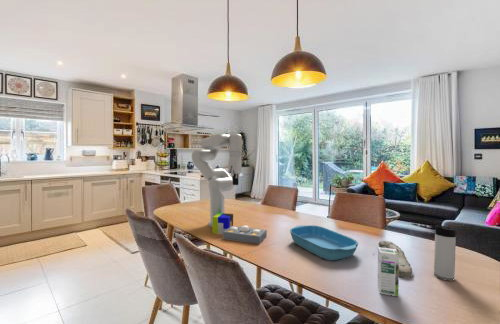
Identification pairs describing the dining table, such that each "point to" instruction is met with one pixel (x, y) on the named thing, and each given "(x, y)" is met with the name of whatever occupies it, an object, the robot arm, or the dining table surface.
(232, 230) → the button
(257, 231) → the button
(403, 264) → the long grey stone
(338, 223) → the dining table surface
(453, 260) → the travel mug
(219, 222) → the puzzle toy
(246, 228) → the middle button
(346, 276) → the dining table surface
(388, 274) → the syrup box
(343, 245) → the casserole dish
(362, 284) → the dining table surface
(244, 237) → the button board
